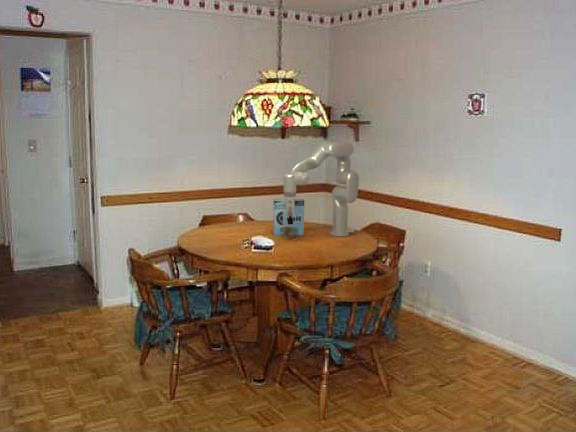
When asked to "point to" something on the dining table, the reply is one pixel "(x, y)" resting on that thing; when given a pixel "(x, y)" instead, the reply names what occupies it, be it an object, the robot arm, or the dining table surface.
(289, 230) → the walnut block
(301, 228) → the gum box
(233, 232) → the dining table surface
